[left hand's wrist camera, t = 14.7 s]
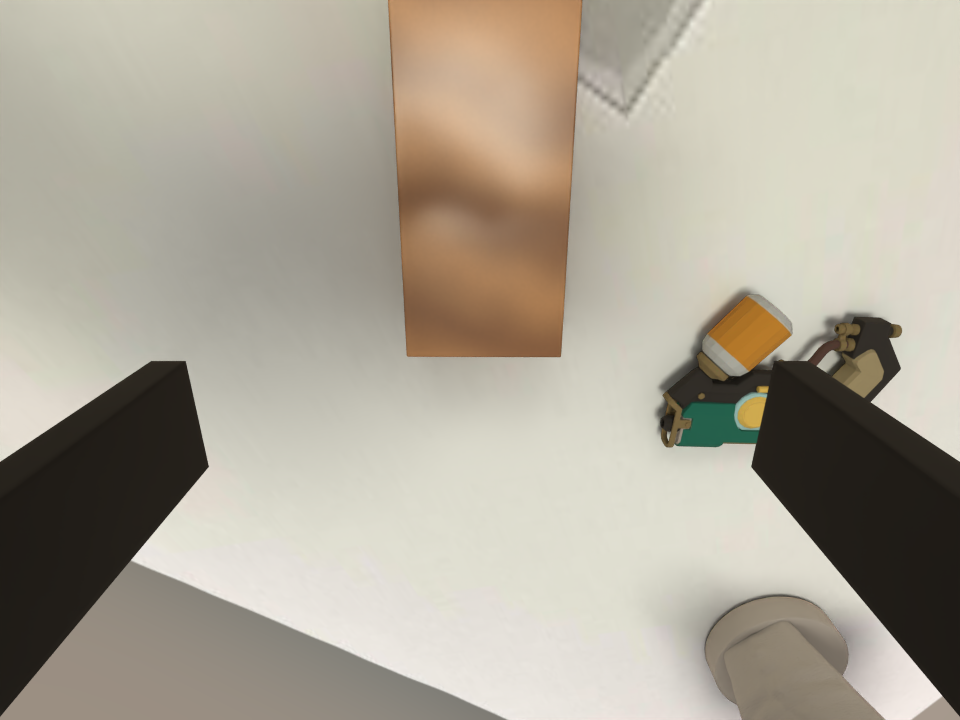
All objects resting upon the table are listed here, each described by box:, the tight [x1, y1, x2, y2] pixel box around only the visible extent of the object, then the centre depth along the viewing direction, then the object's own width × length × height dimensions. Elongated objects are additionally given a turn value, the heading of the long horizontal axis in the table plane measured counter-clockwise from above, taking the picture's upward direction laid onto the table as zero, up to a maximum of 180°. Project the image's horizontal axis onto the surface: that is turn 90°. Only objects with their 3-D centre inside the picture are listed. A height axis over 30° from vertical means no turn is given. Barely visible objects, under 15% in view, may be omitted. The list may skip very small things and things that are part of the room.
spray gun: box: [660, 295, 902, 447], centre depth 43 cm, size 4×17×15 cm
